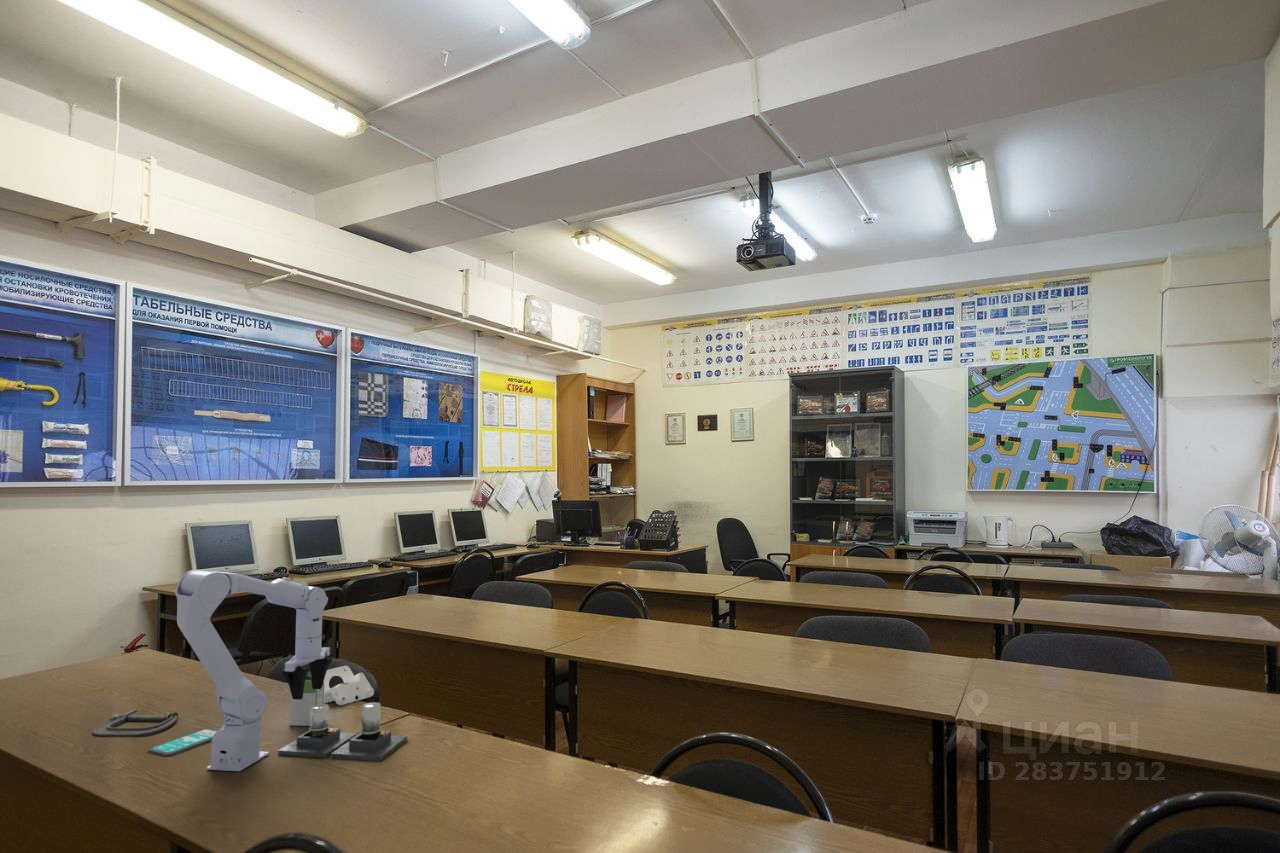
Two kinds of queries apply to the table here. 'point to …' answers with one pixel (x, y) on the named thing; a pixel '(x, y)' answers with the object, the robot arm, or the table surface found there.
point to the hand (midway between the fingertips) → (307, 693)
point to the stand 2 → (370, 746)
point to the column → (370, 718)
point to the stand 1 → (317, 744)
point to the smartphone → (184, 743)
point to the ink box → (305, 704)
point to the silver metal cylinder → (319, 720)
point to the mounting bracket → (346, 686)
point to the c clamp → (117, 720)
